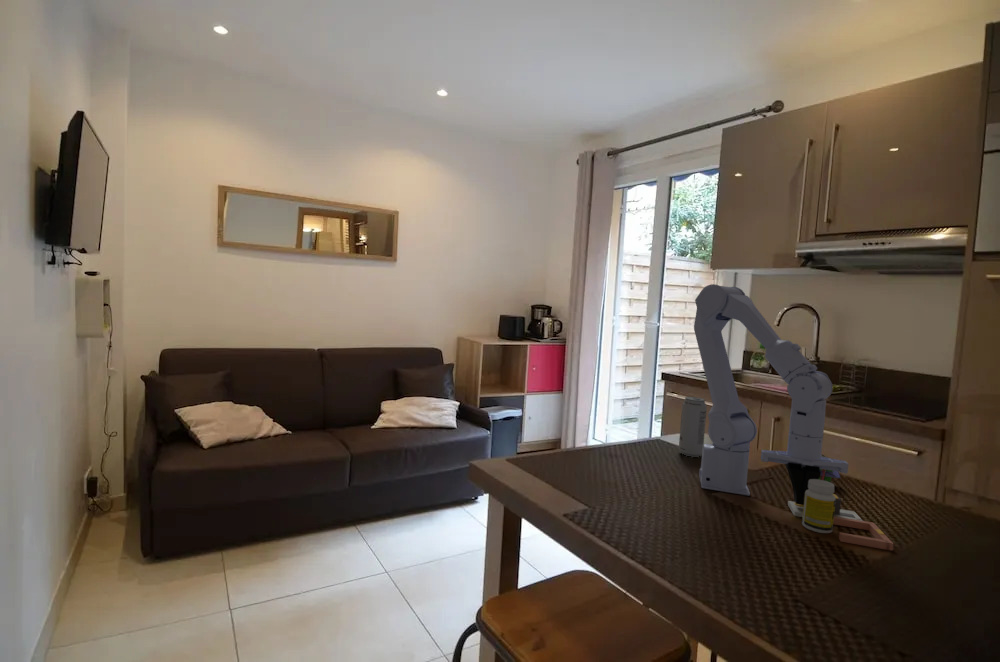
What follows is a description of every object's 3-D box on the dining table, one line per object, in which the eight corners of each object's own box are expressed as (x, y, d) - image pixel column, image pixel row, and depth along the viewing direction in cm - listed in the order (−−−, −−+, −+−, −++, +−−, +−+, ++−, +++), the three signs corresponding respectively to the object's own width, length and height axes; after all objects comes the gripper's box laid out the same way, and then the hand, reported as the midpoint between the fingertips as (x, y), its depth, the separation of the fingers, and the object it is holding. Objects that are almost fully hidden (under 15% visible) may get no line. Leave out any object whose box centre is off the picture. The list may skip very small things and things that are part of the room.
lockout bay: (840, 541, 88) (841, 533, 88) (825, 521, 96) (826, 514, 96) (892, 550, 85) (893, 543, 85) (873, 529, 94) (873, 522, 94)
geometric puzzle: (844, 484, 112) (842, 450, 116) (807, 478, 115) (807, 445, 119) (836, 495, 117) (835, 462, 121) (802, 489, 120) (802, 457, 124)
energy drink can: (681, 450, 140) (686, 395, 139) (705, 454, 136) (709, 399, 136) (675, 454, 135) (680, 398, 134) (699, 459, 131) (704, 401, 131)
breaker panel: (794, 515, 98) (794, 510, 98) (787, 504, 103) (788, 499, 103) (865, 527, 94) (865, 522, 94) (854, 515, 100) (854, 510, 100)
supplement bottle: (837, 535, 90) (842, 488, 89) (807, 531, 91) (812, 485, 90) (825, 524, 95) (830, 479, 94) (797, 520, 95) (802, 476, 95)
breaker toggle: (821, 511, 98) (822, 496, 97) (817, 505, 100) (818, 491, 100) (839, 514, 97) (841, 499, 97) (834, 508, 100) (836, 493, 99)
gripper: (767, 433, 98) (761, 503, 99) (856, 444, 93) (848, 517, 94) (761, 425, 105) (755, 490, 105) (844, 435, 100) (837, 503, 101)
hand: (799, 502), depth 100 cm, fingers closed
